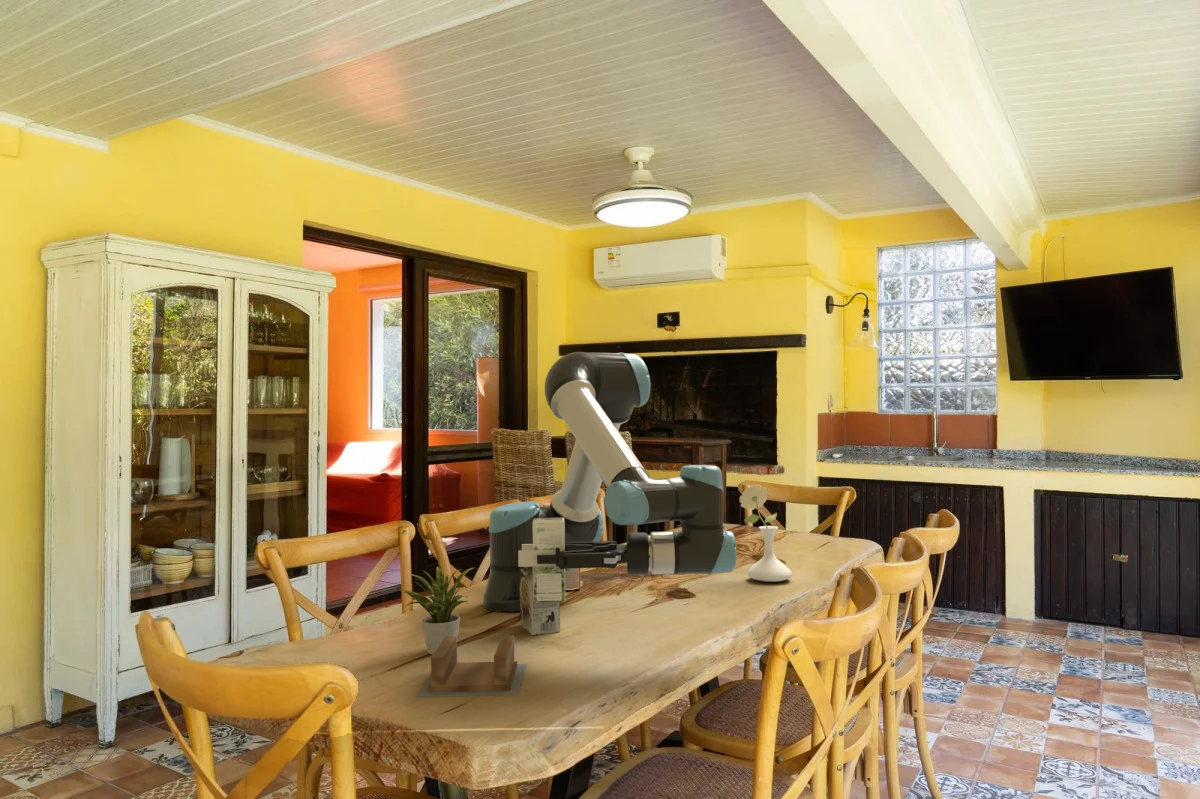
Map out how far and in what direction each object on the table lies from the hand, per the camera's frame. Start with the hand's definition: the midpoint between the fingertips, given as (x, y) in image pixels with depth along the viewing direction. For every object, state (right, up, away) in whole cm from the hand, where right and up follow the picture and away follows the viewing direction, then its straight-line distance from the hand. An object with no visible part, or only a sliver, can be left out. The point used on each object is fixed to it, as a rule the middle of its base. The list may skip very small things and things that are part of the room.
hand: (520, 555), depth 146 cm
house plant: (-15, -20, +7) cm, 26 cm away
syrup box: (+5, -8, 0) cm, 10 cm away
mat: (-7, -19, -11) cm, 23 cm away
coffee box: (+2, -20, +22) cm, 29 cm away
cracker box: (+5, -20, +63) cm, 66 cm away
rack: (-7, -19, -11) cm, 23 cm away
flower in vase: (+58, -19, +65) cm, 89 cm away
